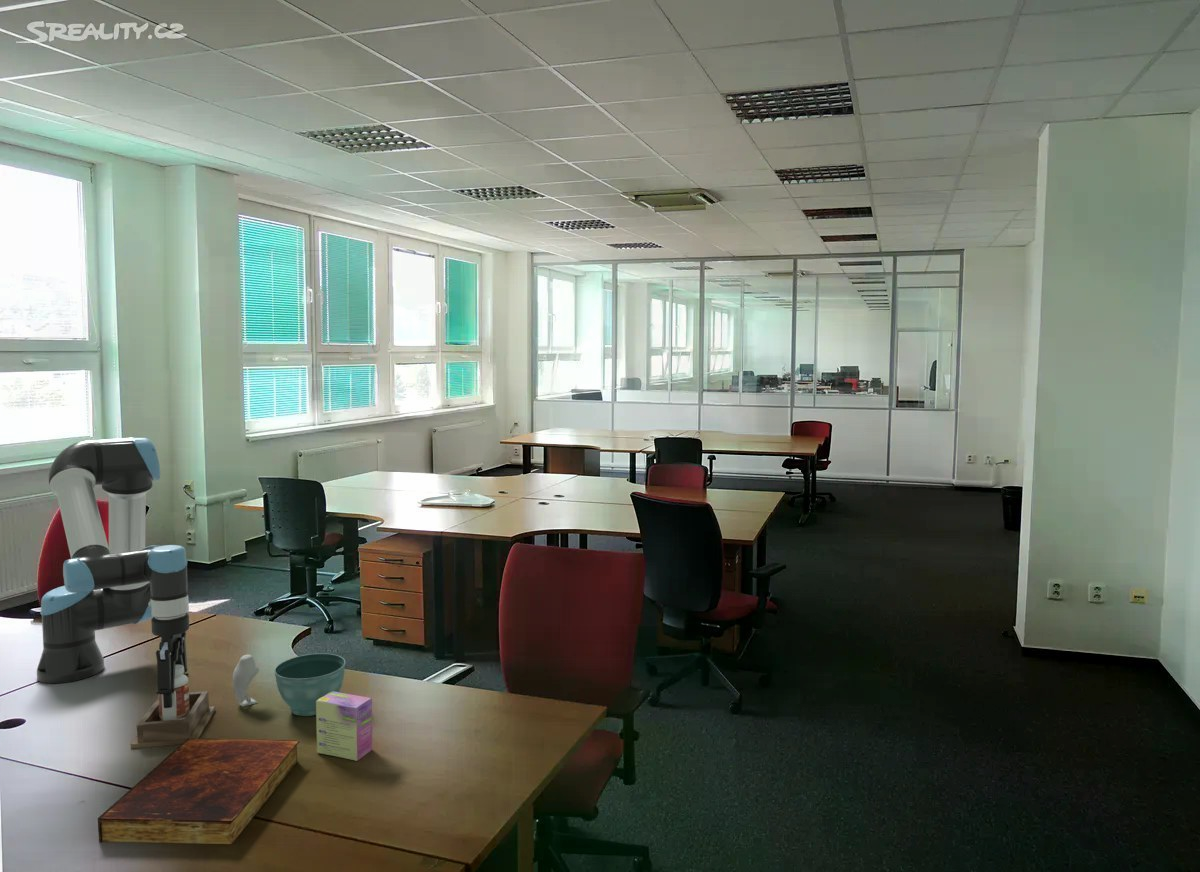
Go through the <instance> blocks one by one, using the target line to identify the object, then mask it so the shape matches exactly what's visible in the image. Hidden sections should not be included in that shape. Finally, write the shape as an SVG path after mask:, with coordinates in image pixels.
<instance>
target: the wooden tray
mask: <svg viewBox="0 0 1200 872" xmlns="http://www.w3.org/2000/svg"><path fill="white" fill-rule="evenodd" d="M189 706H190V711H189V713H188V714H187V715H186V716H184V717H181V718H178V719H176V720H167V721H163V719H161V718H160V716H159V700H158V698H157V699H156V700H155V701H154V702H153V704H152V705H151V707H150V708H149V709H148V710H147V712H146V713H145V714H144V715H143V716H142V718H141V719H140V720H139V721H138V722H137V724H136V736H135V738H134V739H133V740H132V741H131V742H130V749H141V748H153V747H164V746H175V745H176V746H177V745H181V744H182V743H184V742H185V741H186V740H187V739H188V738H189V739H190V738H197V739H200V736H201V735H202V733H203V731H204V729H205V728H206V726H207V725H208V723H209V721H210V720H211V718H212V716H213V715H214V713H215V711H216V706H215V705H214V706H210V701H209V691H208V690H206V691H205V690H203V691H194V692H193V691H192V692H191V691H189Z"/></svg>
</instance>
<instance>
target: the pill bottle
mask: <svg viewBox="0 0 1200 872" xmlns="http://www.w3.org/2000/svg"><path fill="white" fill-rule="evenodd" d="M183 673H184V666H183V665H175V679H174V691H176V708H177V719H178V718H181V717H184V716H186V715H187V714H188V713H189V711H190V706H189V692H190V690H189V688H190V686H189V685H190V684H189V676H188V677H187V676H186V675H184V674H183ZM157 696H158V697H157V699H158V700H159V716H160V718H161V719H163V715H162V694H157Z"/></svg>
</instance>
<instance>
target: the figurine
mask: <svg viewBox="0 0 1200 872" xmlns="http://www.w3.org/2000/svg"><path fill="white" fill-rule="evenodd" d="M259 672H260V668H259V666H258V665H257V663H256V660H255V658H254V657H253V655H251V654H244V655H241V657H240V658H239V661H238V663H237V665H236V666H235V668H234V670H233V674H232V688H233V693H234V695H235V696H234V697H235V698H236V701H237V702H238V705H239V706H241V707H242V708H243V707H247V706H250V705H255V704H258V701H257V700H255V698H252V697H251V696H250V695H249V694H248V689H249V686H250V684H251V682H252V681H253V679H254V678H255V676H256V675H257V674H258V673H259Z"/></svg>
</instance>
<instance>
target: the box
mask: <svg viewBox="0 0 1200 872" xmlns="http://www.w3.org/2000/svg"><path fill="white" fill-rule="evenodd" d="M315 716H316V717H315V719H316V720H315V721H316V724H315V725H316V726H315V727H316V753H317V754H321V755H327V756H332V757H333V756H334V757H338V758H343V759H346V760H347V759H348V760H351V761H355V762H357V761H359V760H361V759H363V757H364V756H366V755H367V754H369V753H370V752H371V751H373V698H372V697H368V696H363V695H355V694H350V693H344V692H340V691H339V692H334V691H332V692H330V693H328V694H326V695H325V696H323V697H321V698H320V699H318V700H317V701H316V715H315Z"/></svg>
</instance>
